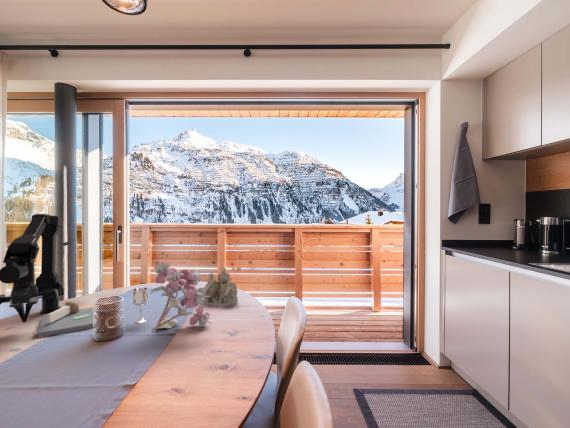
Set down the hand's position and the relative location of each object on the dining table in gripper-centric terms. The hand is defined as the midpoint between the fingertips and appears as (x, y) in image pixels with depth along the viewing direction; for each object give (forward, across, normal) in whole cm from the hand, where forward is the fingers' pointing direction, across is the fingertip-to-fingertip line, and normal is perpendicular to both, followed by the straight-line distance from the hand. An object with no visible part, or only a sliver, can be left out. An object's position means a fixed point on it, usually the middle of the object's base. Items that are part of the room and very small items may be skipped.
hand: (24, 322), depth 108 cm
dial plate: (+3, +12, +1) cm, 13 cm away
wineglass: (+3, +35, -12) cm, 37 cm away
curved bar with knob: (+1, +11, +4) cm, 12 cm away
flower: (+3, +48, -27) cm, 55 cm away
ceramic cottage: (+3, +69, -5) cm, 69 cm away
